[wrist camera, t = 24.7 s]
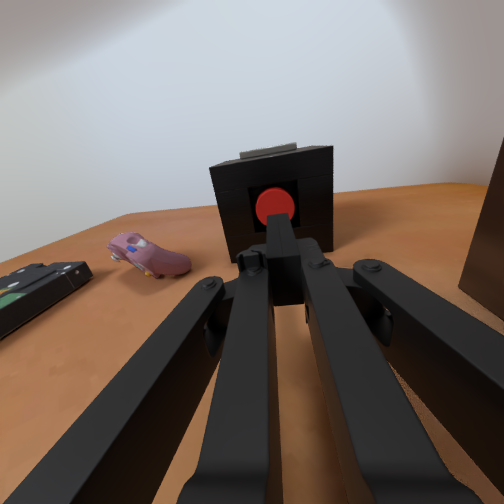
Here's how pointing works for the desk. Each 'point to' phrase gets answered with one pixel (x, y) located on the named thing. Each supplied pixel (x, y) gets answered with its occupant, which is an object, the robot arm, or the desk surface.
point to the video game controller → (147, 255)
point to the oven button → (274, 203)
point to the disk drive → (37, 290)
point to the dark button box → (280, 174)
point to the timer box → (488, 248)
